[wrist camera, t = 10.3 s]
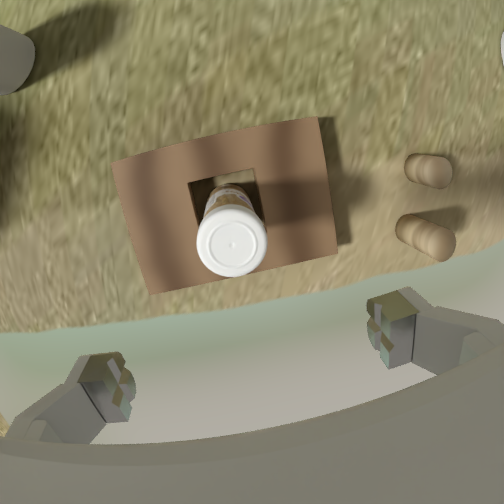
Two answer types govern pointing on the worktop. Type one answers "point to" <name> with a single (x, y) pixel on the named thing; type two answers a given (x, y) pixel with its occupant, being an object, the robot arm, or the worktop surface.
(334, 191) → the worktop surface
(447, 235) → the medium beech dowel
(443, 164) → the short beech dowel
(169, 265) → the walnut board
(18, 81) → the can
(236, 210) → the sprinkles bottle
